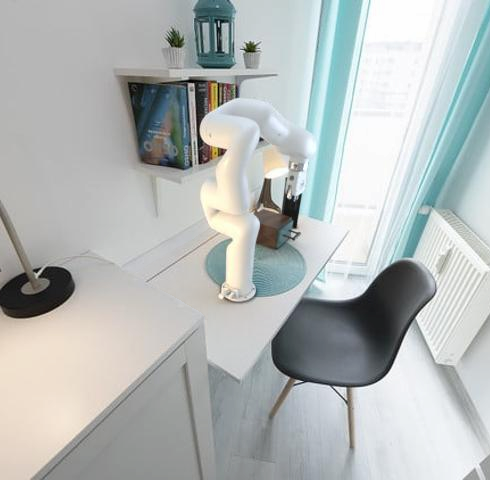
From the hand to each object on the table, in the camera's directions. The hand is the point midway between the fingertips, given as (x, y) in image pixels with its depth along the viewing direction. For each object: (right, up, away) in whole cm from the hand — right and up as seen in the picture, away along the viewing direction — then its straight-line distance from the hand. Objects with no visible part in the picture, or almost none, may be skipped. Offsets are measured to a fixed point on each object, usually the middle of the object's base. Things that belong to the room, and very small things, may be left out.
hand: (291, 208), depth 122 cm
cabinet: (-8, -12, +19) cm, 24 cm away
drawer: (-4, -13, +16) cm, 21 cm away
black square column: (+4, -5, +32) cm, 32 cm away
